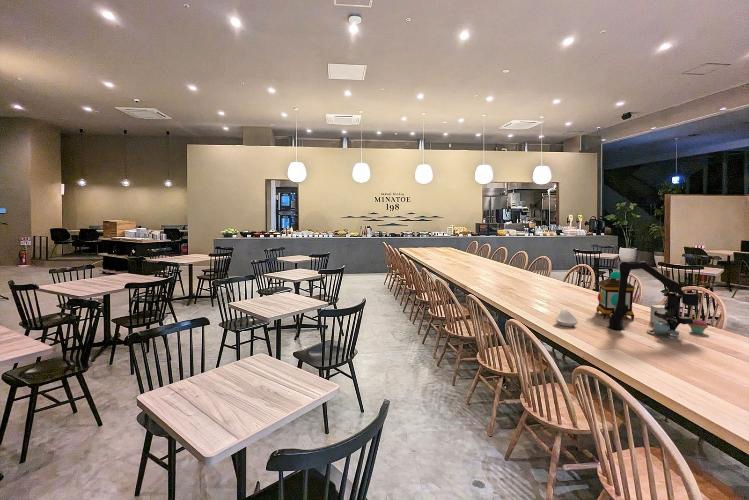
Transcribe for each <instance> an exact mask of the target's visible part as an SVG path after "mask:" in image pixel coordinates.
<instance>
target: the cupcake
mask: <svg viewBox="0 0 749 500" xmlns="http://www.w3.org/2000/svg"><path fill="white" fill-rule="evenodd" d="M693 316H694V319H693V324H687V325H688V326H689V328H690V330H691V333H694V334H704V331H705V330H706V329H708V328H709V324H708V323H707V322H706V321H704V320H701V319H697V316H696V312H695V311H693Z"/></svg>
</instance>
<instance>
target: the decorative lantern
mask: <svg viewBox="0 0 749 500" xmlns="http://www.w3.org/2000/svg"><path fill="white" fill-rule="evenodd" d="M619 281H620V273H619V270H614V271H612V272H610V274H609V276H608V277H607V278H606V279H601V280H599V281H598V282H597V284H598V287H599V289H598V290H599V293H598V294H597V301H598V305H597V307H596V312H599V313H601V314H602V318H603V319H604V318H605V319H606V317H607V316H608V315H609V316H610V312H611V311H613V310H614V308H615V305H616V302H617V300H618V291H619ZM635 289H636V287H634V285H632V284H631V283H629V282H628V281H627V289H626V299H625V303H626V304H628V306H629V307H628V313H626V316H628V317H630V320H631V321H634V319H635V314H634V312H633V303H634V291H635ZM626 316H625V317H626Z"/></svg>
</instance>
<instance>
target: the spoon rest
mask: <svg viewBox="0 0 749 500" xmlns="http://www.w3.org/2000/svg"><path fill="white" fill-rule="evenodd" d="M555 319H556V320H555V321H556V322H557V324H559V325H561V327H566V326H567V328H570V327H574V326H576V325H577V324H578V322H579V321H578V319H577V318H576V317H575V316H574V315H573V314H572V313H571V311H569V310H568V309H561V310H560V312H559V314H558V315H557V316H556V317H555Z"/></svg>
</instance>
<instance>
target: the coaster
mask: <svg viewBox="0 0 749 500" xmlns="http://www.w3.org/2000/svg"><path fill="white" fill-rule="evenodd" d="M658 339H660V340H661V341H666V342H671V343H676V342H677V343H678V342H679V341H680V338H676V337H674V336H658Z"/></svg>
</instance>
